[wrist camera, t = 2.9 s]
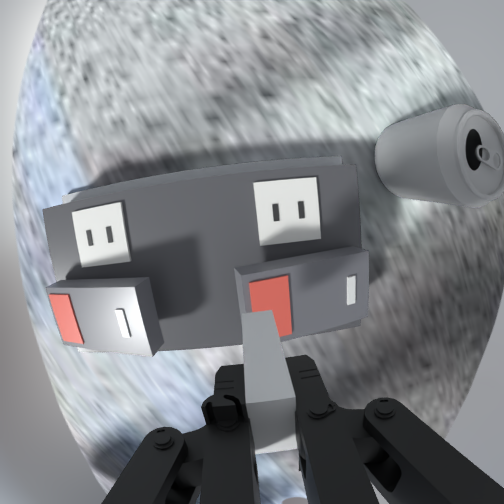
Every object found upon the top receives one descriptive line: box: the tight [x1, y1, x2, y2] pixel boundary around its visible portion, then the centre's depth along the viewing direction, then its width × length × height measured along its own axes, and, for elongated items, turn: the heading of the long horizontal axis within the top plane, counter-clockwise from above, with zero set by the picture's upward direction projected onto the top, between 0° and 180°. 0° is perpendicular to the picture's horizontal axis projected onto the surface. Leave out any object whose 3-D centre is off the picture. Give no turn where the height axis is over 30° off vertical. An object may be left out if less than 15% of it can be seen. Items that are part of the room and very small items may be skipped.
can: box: [375, 104, 504, 208], centre depth 19 cm, size 8×8×12 cm
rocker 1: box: [46, 277, 164, 357], centre depth 19 cm, size 5×9×2 cm, turn 96°
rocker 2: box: [234, 246, 369, 342], centre depth 19 cm, size 5×9×2 cm, turn 96°
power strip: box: [43, 156, 361, 352], centre depth 23 cm, size 15×26×5 cm, turn 96°
